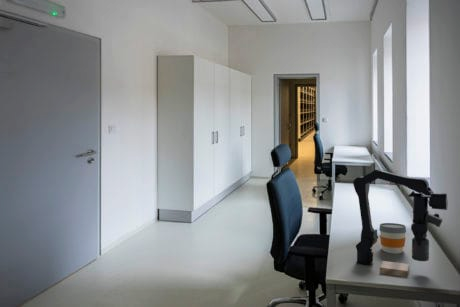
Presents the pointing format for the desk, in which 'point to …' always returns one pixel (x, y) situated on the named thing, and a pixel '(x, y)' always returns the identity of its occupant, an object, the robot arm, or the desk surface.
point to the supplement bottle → (420, 249)
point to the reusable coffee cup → (392, 237)
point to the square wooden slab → (394, 268)
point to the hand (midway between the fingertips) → (419, 243)
